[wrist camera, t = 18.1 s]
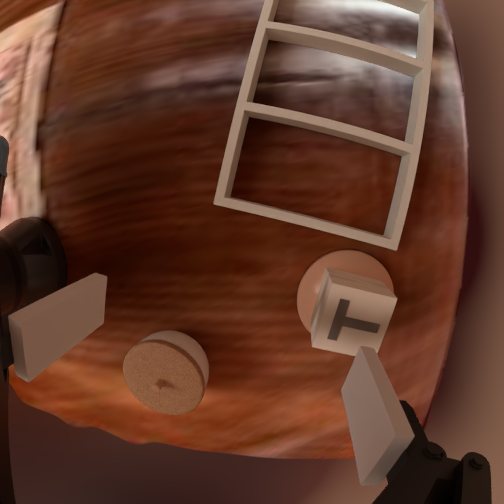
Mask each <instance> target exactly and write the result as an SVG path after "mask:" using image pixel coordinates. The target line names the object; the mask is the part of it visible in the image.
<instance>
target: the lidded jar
mask: <svg viewBox="0 0 504 504" xmlns="http://www.w3.org/2000/svg"><path fill="white" fill-rule="evenodd" d="M123 373H124V377H125V380H126V383H127V385H128V387H129V389H130V390H131V392H132V393H133V394H134V396H135V397H136V398H137V399H138V400H139V401H141V402H142V403H143V404H144V405H146V406H147V407H149V408H151V409H153V410H155V411H158V412H160V413H164V414H170V415H179V414H185V413H188V412H190V411H192V410H193V409H195V408H196V407H197V406H198V405H199V403H200V402H201V400H202V398H203V395H204V391H205V389H206V386H207V382H208V378H209V363H208V359H207V356H206V354H205V352H204V350H203V349H202V347H201V346H200V345H199V344H198V343H197V342H196V341H195V340H194V339H193V338H191V337H190V336H188V335H186V334H184V333H181V332H178V331H173V330H165V331H159V332H156V333H153V334H151V335H149V336H147V337H146V338H144V339H143V340H141V341H140V342H139V343H138V344H136V345H135V346H134V347H132V348H131V349H130V350H129V352H128V353H127V354H126V356H125V359H124V362H123Z"/></svg>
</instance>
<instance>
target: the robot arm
mask: <svg viewBox="0 0 504 504" xmlns="http://www.w3.org/2000/svg"><path fill="white" fill-rule="evenodd" d="M8 155H9V144H8V142H7V140H6V139H5V138H4V137H3V136H0V216H1V206H2V198H3V191H4V185H5V179H6V177H7V172H6V171H7V162H8ZM66 274H67V271H66V261H65V256H64V252H63V248H62V246H61V243H60V241H59V239H58V237H57V235H56V234H55V232H54V231H53V229H52V228H51V227H50V226H49V225H48V224H47V223H46V222H45V221H43V220H41V219H39V218H36V217H27V218H21V219H18V220H15V221H14V222H12V223H11V224H9V225H8V226H6V227H5V228H4V229H2V230H1V231H0V504H16V501H15V494H14V488H13V480H12V472H11V461H10V449H9V432H8V431H9V427H8V393H9V369H8V367H9V366H10V365H12V364H13V363H14V368H15V374H16V375H17V376H18V377H20V378H22V379H23V380H25V381H26V382H28V383H29V382H30V381H31V380H32V379H34V378H35V377H36V376H37V375H39V374H40V373H41V372H42V371H44V370H45V369H46V368H47V367H49V366H50V365H51V364H52V363H54V362H55V361H56V360H57V359H59V358H60V357H61V356H62V355H64V354H65V353H66V352H67V351H69V350H70V349H71V348H73V347H74V346H75V345H76V344H78V343H79V342H80V341H82V340H83V339H84V338H85V337H87V336H88V335H89V334H91V333H92V332H93V331H94V330H96V329H97V328H98V327H100V326H101V325H102V324H104V311H105V297H106V286H107V276H104V275H101V274H98V273H93V274H91V275H89V276H87V277H85V278H83V279H81V280H79V281H77V282H75V283H73V284H70V285H68V286H66V287H65V284H66ZM341 392H342V397H343V401H344V406H345V410H346V415H347V419H348V424H349V429H350V434H351V439H352V444H353V449H354V454H355V459H356V464H357V469H358V475H359V480H360V485H362V486H363V485H364V486H379V485H380V483H381V482H382V481H383V480H384V478H385V477H387V481H388V485H387V486H386V487H385V489H384V490H383V491H382V492H381V494H380V495H379V496H378V497H377V498H376V499H375V501H374V502H373V503H372V504H491V502H492V500H491V472H490V465H489V462H488V461H487V459H486V458H485V457H484V456H483V455H481V454H478V453H475V452H470V453H467V454H466V455H465V456H464V457H463V458H462V459H461V461H459V460H455V459H450V458H447V456H446V453H445V451H444V450H443V448H442V447H440V446H439V445H437V444H436V443H433V442H429V441H428V439H427V437H426V435H425V433H424V431H423V429H422V426H421V424H420V423H419V420H418V418H417V417H416V414H415V412H414V410H413V408H412V407H411V406H410V405H409V404H408V403H407V402H406V401H403V400H398V397H397V395H396V393H395V391H394V389H393V387H392V385H391V382H390V380H389V378H388V376H387V374H386V372H385V370H384V368H383V366H382V364H381V362H380V359H379V357H378V355H377V353H376V351H375V349H374V348H371V347H366V346H361V345H360V347H359V349H358V352H357V354H356V357H355V359H354V362H353V364H352V366H351V369H350V371H349V373H348V376H347V378H346V380H345V382H344V385H343V387H342V389H341Z"/></svg>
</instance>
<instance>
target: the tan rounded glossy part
mask: <svg viewBox="0 0 504 504" xmlns="http://www.w3.org/2000/svg"><path fill="white" fill-rule="evenodd" d="M326 267H330V268H334V269H338V270H342V271H346V272H350V273H354V274H358V275H362V276H366V277H370V278H374V279H378V280H381V281H382V282H383V283H384V284H385V285H386V286H387V287H388V288H389V290H390V291H391V292H392V293H393V294H394V289H393V284H392V280H391V278H390V276H389V274H388V272H387V270H386V269H385V268H384V267H383V265H382V264H380V263H379V262H378V261H377V260H376V259H375V258H374V257H372V256H371V255H369V254H367V253H365V252H362V251H359V250H354V249H340V250H335V251H332V252H329V253H326V254H324V255H322V256H321V257H319V258H318V259H316V260H315V261H314V262H313V263H312V264H311V265H310V266H309V267H308V268H307V270H306V271H305V273H304V274H303V276H302V278H301V280H300V283H299V286H298V291H297V308H298V313H299V316H300V319H301V321H302V323H303V325H304V326H305V328H306V329H307V330H308V331H309V332H310V333H311V326H310V320H311V316H312V313H313V310H314V307H315V303H316V300H317V296H318V293H319V290H320V286H321V283H322V279H323V276H324V272H325V269H326Z"/></svg>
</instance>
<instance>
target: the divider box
mask: <svg viewBox="0 0 504 504" xmlns="http://www.w3.org/2000/svg"><path fill="white" fill-rule="evenodd" d="M379 1H383V2H386V3H389V4H392V5H395V6H398V7H401V8H404V9H406V10H409V11H412V12H415V13H417V14H419V30H418V44H417V55H416V59H415V58H413V57H410V56H407V55H405V54H402V53H399V52H396V51H393V50H390V49H387V48H384V47H381V46H378V45H375V44H371V43H368V42H364V41H361V40H357V39H354V38H350V37H346V36H342V35H338V34H334V33H330V32H325V31H321V30H316V29H311V28H306V27H301V26H296V25H290V24H284V23H277V22H273V21H274V17H275V14H276V10H277V7H278V3H279V0H265V2H264V6H263V9H262V12H261V16H260V19H259V23H258V26H257V30H256V33H255V37H254V40H253V44H252V48H251V51H250V55H249V59H248V62H247V66H246V70H245V74H244V77H243V81H242V85H241V89H240V93H239V97H238V101H237V105H236V109H235V113H234V117H233V121H232V125H231V129H230V133H229V137H228V142H227V146H226V150H225V154H224V159H223V163H222V168H221V172H220V176H219V181H218V186H217V190H216V195H215V199H214V205H219V206H223V207H228V208H232V209H236V210H240V211H245V212H249V213H253V214H257V215H261V216H266V217H270V218H274V219H278V220H282V221H286V222H290V223H294V224H298V225H302V226H306V227H310V228H314V229H318V230H321V231H325V232H329V233H333V234H337V235H341V236H344V237H348V238H352V239H356V240H359V241H363V242H367V243H370V244H374V245H378V246H381V247H385V248H388V249H392V250H396V251H397V248H398V244H399V241H400V237H401V233H402V230H403V226H404V222H405V218H406V214H407V210H408V206H409V202H410V197H411V193H412V188H413V184H414V179H415V174H416V169H417V164H418V159H419V154H420V148H421V143H422V137H423V130H424V124H425V117H426V110H427V102H428V94H429V85H430V75H431V64H432V50H433V30H434V1H433V0H379ZM268 40H273V41H279V42H285V43H291V44H296V45H301V46H306V47H311V48H316V49H320V50H325V51H329V52H333V53H337V54H341V55H345V56H349V57H352V58H356V59H360V60H363V61H367V62H370V63H373V64H376V65H380V66H383V67H386V68H389V69H392V70H395V71H398V72H401V73H403V74H406V75H409V76H412V77H414V83H413V91H412V99H411V106H410V112H409V119H408V125H407V131H406V137H405V142H403V141H400V140H397V139H394V138H391V137H388V136H385V135H382V134H379V133H376V132H372V131H369V130H366V129H362V128H359V127H356V126H352V125H348V124H345V123H341V122H337V121H334V120H330V119H326V118H322V117H318V116H314V115H310V114H305V113H301V112H296V111H292V110H287V109H283V108H278V107H273V106H267V105H262V104H257V103H252V102H253V98H254V94H255V90H256V86H257V82H258V78H259V74H260V70H261V67H262V63H263V59H264V55H265V51H266V47H267V44H268ZM249 117H252V118H257V119H263V120H268V121H273V122H277V123H282V124H287V125H291V126H296V127H300V128H304V129H309V130H313V131H317V132H321V133H325V134H329V135H332V136H336V137H340V138H344V139H347V140H351V141H354V142H358V143H361V144H365V145H368V146H371V147H374V148H378V149H381V150H384V151H387V152H390V153H393V154H396V155H399V156H402V158H401V163H400V168H399V173H398V177H397V182H396V186H395V191H394V195H393V199H392V204H391V208H390V212H389V216H388V220H387V224H386V227H385V231H384V235H379V234H375V233H372V232H368V231H365V230H361V229H357V228H354V227H350V226H346V225H343V224H339V223H335V222H331V221H328V220H324V219H320V218H316V217H312V216H308V215H304V214H300V213H296V212H292V211H288V210H284V209H280V208H276V207H272V206H268V205H263V204H259V203H255V202H251V201H246V200H242V199H238V198H233V197H230V196H231V192H232V187H233V183H234V179H235V174H236V170H237V165H238V161H239V157H240V152H241V148H242V144H243V140H244V135H245V131H246V127H247V123H248V119H249Z"/></svg>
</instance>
